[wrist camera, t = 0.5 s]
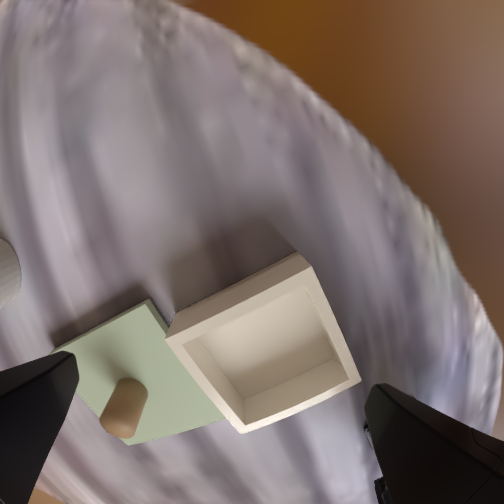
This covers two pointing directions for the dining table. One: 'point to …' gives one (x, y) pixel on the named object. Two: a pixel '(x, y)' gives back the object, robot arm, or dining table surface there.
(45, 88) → the dining table surface
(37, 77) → the dining table surface
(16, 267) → the coffee cup
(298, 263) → the cream square tray
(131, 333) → the lid
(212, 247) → the dining table surface
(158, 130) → the dining table surface
